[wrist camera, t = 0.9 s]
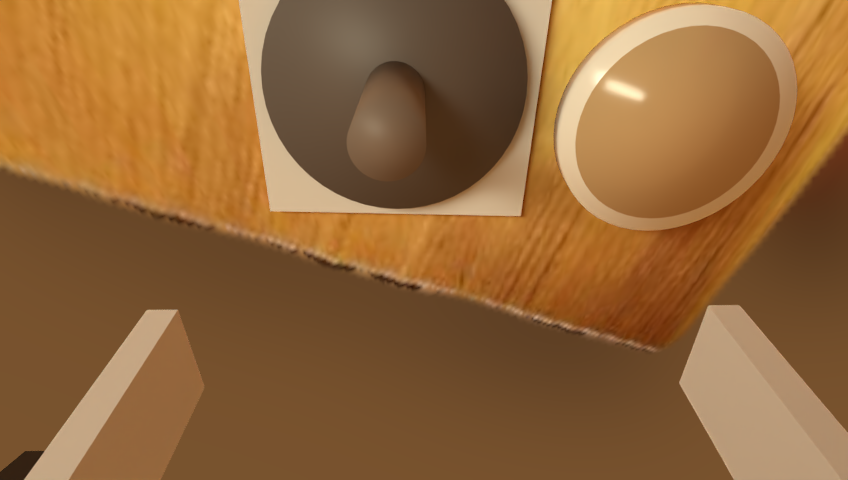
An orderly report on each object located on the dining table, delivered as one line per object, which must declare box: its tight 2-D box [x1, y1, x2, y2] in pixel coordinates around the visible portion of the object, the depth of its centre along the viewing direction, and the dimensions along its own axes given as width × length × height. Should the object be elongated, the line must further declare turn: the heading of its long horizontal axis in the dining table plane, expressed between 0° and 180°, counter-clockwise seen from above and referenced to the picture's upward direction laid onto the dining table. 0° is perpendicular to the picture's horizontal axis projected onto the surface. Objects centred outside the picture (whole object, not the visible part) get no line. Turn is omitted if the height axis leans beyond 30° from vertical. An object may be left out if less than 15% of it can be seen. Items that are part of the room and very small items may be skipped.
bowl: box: [554, 3, 797, 231], centre depth 30 cm, size 13×13×5 cm
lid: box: [261, 0, 528, 209], centre depth 27 cm, size 16×16×10 cm
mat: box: [239, 0, 552, 216], centre depth 31 cm, size 18×18×1 cm
